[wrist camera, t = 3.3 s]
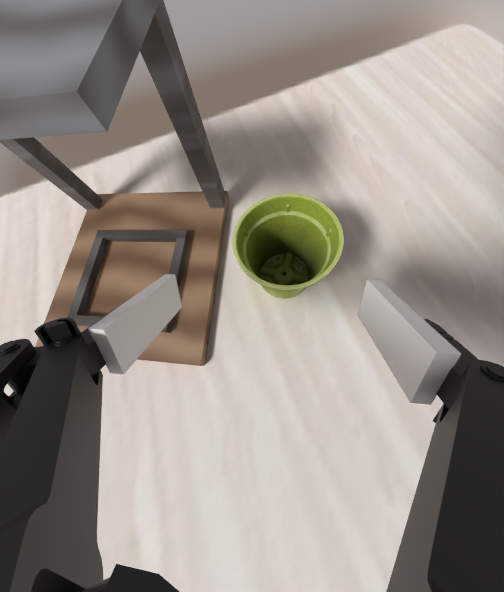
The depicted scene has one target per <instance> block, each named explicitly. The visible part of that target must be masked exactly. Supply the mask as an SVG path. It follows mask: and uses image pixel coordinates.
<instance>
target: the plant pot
mask: <svg viewBox="0 0 504 592" xmlns="http://www.w3.org/2000/svg"><path fill="white" fill-rule="evenodd" d="M343 245H344V234H343V229H342V226H341V224H340V222H339V220H338V218H337V216H336V215H335V214H334V212H333V211H332V210H331V209H329V208H328V207H327V206H326V205H325V204H323V203H322V202H320V201H318V200H316V199H314V198H312V197H309V196H305V195H301V194H293V193H291V194H280V195H275V196H270V197H268V198H265V199H263V200H261V201H260V202H257V203H256V204H254V205H253V206H252V207H250V208H249V209H248V210H247V211H246V212H245V213H244V214H243V215H242V217H241V218H240V220H239V222H238V224H237V226H236V228H235V231H234V235H233V251H234V254H235V257H236V260H237V262H238V263H239V265H240V267H241V268H242V269H243V271H244V272H245V273H246V274H247V275H248V276H249V277H251V278H252V279H253V280H254V281H256V282H258V283H259V284H261V285H262V286H263V288H264V289H265V290H266V291H267V292H268V293H269V294H271V295H273V296H275V297H279V298H291V297H294V296H296V295H298V294H299V293H301V292H302V291H303V290H304V289H305V288H306V287H309V286H311V285H313V284H315V283H317V282H319V281H320V280H322V279H323V278H324V277H326V276H327V275H328V274H329V273H330V272H331V271H332V269H333V268H334V267H335V266H336V264H337V262H338V261H339V259H340V256H341V254H342V250H343ZM276 258H279V260H278V261H276V262H274V263H272V264H270V262H271V261H273V260H274V259H276ZM296 262H298V263H300V264H301V265H302V267H303V270H301V269H300V267H299V266H298V264H297V263H296ZM284 272H285V273H286V276H283V275H282V273H284ZM265 280H268V282H266V281H265Z"/></svg>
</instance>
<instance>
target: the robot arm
mask: <svg viewBox="0 0 504 592" xmlns="http://www.w3.org/2000/svg"><path fill="white" fill-rule="evenodd" d="M181 308H182V304H181V299H180V295H179V290H178V286H177V281H176V276H175V274H165V275H163V276H162V277H161V278H159V279H158V280H156V281H155V282H153V283H152V284H151V285H149V286H148V287H146V288H145V289H144V290H142V291H141V292H139V293H138V294H136V295H135V296H134V297H132V298H131V299H129V300H128V301H127V302H125V303H124V304H122V305H121V306H119V307H118V308H116V309H114V310H112V311H111V312H110V313H108V314H107V315H105V316H104V317H102V318H101V320H98V321H97V322H95V323H94V324H92V325H91V326H90V327H88V328H87V329H85V330H84V331H82V332H80V330H79V328H78V326H77V324H76V323H75V321H74V319H73V318H60V319H56V320H53V321H50V322H47V323H45V324H43V325H41V326H40V327H38V328H37V329H36V330H35V333H36V334H37V336H38V337H39V339H40V340H41V342H42V344H43V345H44V346H40V347H33V345H32V344H31V342H30V341H29V340H28V339H19V340H15V341H10V342H7V343H4V344H2V345H1V346H0V592H179V591H178V590H177V589H176V588H174V587H173V586H172V585H171V584H170V583H169V582H167V581H166V580H165V579H164V578H163V577H162V576H160V575H159V574H156V573H152V572H148V571H144V570H140V569H135V568H131V567H127V566H123V565H118V564H116V566H115V568H114V570H113V573H112V575H111V577H110V578H108V579H105V580H103V566H102V559H101V556H100V552H99V549H98V544H97V513H98V487H99V460H100V434H101V407H102V381H103V375H102V372H101V370H100V369H101V368H102V367H103V366H104V365H105V364H106V366H107V368H108V370H109V372H110V373H116V374H124V373H125V372H126V371H127V370H128V369H129V368H130V367H131V365H132V364H133V363H134V362H135V361H136V360H137V358H138V357H139V356H140V355H141V354H142V353H143V352H144V350H145V349H146V348H147V347H148V346H149V345H150V344H151V342H152V341H153V340H154V339H155V338H156V337H157V335H158V334H159V333H160V332H161V331H162V330H163V329H164V327H165V326H166V325H167V324H168V323H169V322H170V320H171V319H172V318H173V317H174V316H175V315H176V314H177V312H178V311H179V310H180V309H181ZM358 317H359V318H360V320H361V322H362V323H363V325H364V327H365V328H366V330H367V332H368V333H369V335H370V337H371V338H372V340H373V342H374V343H375V345H376V347H377V348H378V350H379V351H380V353H381V355H382V356H383V358H384V360H385V361H386V363H387V365H388V366H389V368H390V370H391V371H392V373H393V375H394V376H395V378H396V380H397V381H398V383H399V385H400V386H401V388H402V389H403V391H404V393H405V394H406V396H407V398H408V399H409V401H410V403H420V404H430V405H431V404H432V402H433V400H434V399H435V397H436V395H438V396H439V398H440V399H441V400H442V402H443V403H444V404H443V406H442V407H441V409H440V410H439V412H438V413H437V415H436V416H435V418H434V419H433V422H435V423H436V425H435V428H434V432H433V435H432V439H431V442H430V445H429V449H428V452H427V456H426V459H425V462H424V466H423V469H422V473H421V476H420V480H419V483H418V486H417V490H416V493H415V497H414V500H413V503H412V507H411V510H410V514H409V517H408V520H407V524H406V527H405V531H404V534H403V538H402V541H401V544H400V548H399V551H398V555H397V558H396V561H395V565H394V568H393V572H392V575H391V578H390V582H389V585H388V589H387V592H504V367H503V366H500V365H498V364H495V363H492V362H488V361H483V360H478V359H477V358H476V357H475V356H474V355H473V354H471V353H470V352H469V351H468V350H467V349H466V348H465V347H463V346H462V345H461V344H460V343H459V342H458V341H456V340H454V338H453V337H452V336H451V335H449V334H447V332H446V331H445V330H444V329H442V328H441V327H440V326H439V325H437V324H435V323H433V322H431V321H430V320H428V319H423V318H421V317H420V316H419V315H418V314H417V313H416V312H415V311H414V310H413V309H412V308H410V307H409V306H408V305H407V304H406V303H405V302H404V301H403V300H402V299H401V298H399V297H398V296H397V295H396V294H395V293H394V292H393V291H392V290H391V289H390V288H388V287H387V286H386V285H385V284H384V283H383V282H382V281H381V280H374V279H367V281H366V285H365V289H364V293H363V297H362V301H361V305H360V308H359V312H358ZM6 384H8V385H9V386H10V387H11V388H12V389H13V391H14V392H13V393H12V394H11V395H10V396H7V395H6V394H5V393H4V388H5V386H6Z"/></svg>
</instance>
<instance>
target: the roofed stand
mask: <svg viewBox="0 0 504 592" xmlns="http://www.w3.org/2000/svg"><path fill="white" fill-rule="evenodd" d="M139 51H140V52H141V54H142V56H143V59H144V61H145V63H146V65H147V68H148V70H149V72H150V74H151V76H152V78H153V81H154V83H155V86H156V88H157V90H158V92H159V94H160V97H161V99H162V101H163V103H164V106H165V108H166V110H167V112H168V114H169V117H170V119H171V121H172V124H173V126H174V128H175V130H176V132H177V135H178V137H179V139H180V141H181V144H182V146H183V148H184V150H185V153H186V155H187V157H188V159H189V161H190V164H191V166H192V168H193V170H194V173H195V175H196V177H197V179H198V182H199V184H200V186H201V188H202V191H203V192H171V193H132V194H96V193H95V192H94V191H93V190H92V189H90V188H89V187H88V186H87V185H86V184H85V183H84V182H83V181H82V180H80V179H79V178H78V177H77V176H76V175H75V174H74V173H73V172H72V171H71V170H69V169H68V168H67V167H66V166H65V165H64V164H63V163H62V162H60V161H59V160H58V159H57V158H56V157H55V156H54V155H53V154H52V153H51V152H50V151H48V150H47V149H46V148H45V147H44V146H43V145H42V144H41V143H40V142H38V141H37V140H36V139H35V138H34V137H45V136H58V135H72V134H85V133H97V132H98V133H99V132H107V131H108V128H109V126H110V123H111V121H112V118H113V116H114V113H115V111H116V108H117V106H118V103H119V101H120V98H121V96H122V93H123V91H124V88H125V86H126V83H127V81H128V78H129V76H130V73H131V71H132V69H133V66H134V63H135V60H136V58H137V56H138V53H139ZM0 143H1V144H3V145H4V146H5V147H7V148H8V149H9V150H10V151H12V152H13V153H14V154H16V155H17V156H18V157H19V158H21V159H22V160H23V161H25V162H26V163H27V164H29V165H30V166H31V167H32V168H34V169H35V170H36V171H38V172H39V173H40V174H41V175H43V176H44V177H45V178H46V179H48V180H49V181H50V182H52V183H53V184H54V185H56V186H57V187H58V188H59V189H61V190H62V191H63V192H65V193H66V194H67V195H68V196H70V197H71V198H72V199H74V200H75V201H76V202H77V203H79V204H80V205H81V206H83V207H84V208H85V209H86V210H87V212H86V215H85V217H84V220H83V223H82V225H81V228H80V231H79V233H78V236H77V238H76V241H75V244H74V246H73V249H72V251H71V254H70V257H69V259H68V262H67V265H66V267H65V270H64V272H63V275H62V278H61V280H60V283H59V286H58V288H57V291H56V293H55V296H54V299H53V301H52V304H51V306H50V309H49V312H48V314H47V317H46V320H45V322H44V324H45V323H47V322H50V321H53V320H56V319H60V318H73V319H74V321H75V323H76V324H77V326H78V328H79V330H80V332H82V331H84V330H85V329H87V328H88V327H90V326H91V325H92V324H94V323H95V322H97V321H98V320H101V318H102V317H104V316H105V315H107V314H108V313H110V312H111V311H112V310H114V309H116V308H118V307H119V306H121V305H122V304H124V303H125V302H127V301H128V300H129V299H131V298H132V297H134V296H135V295H136V294H138V293H139V292H141V291H142V290H144V289H145V288H146V287H148V286H149V285H151V284H152V283H153V282H155V281H156V280H158V279H159V278H161V277H162V276H163V275H165V274H175V276H176V281H177V286H178V290H179V295H180V299H181V304H182V308H181V309H180V310H179V311H178V312H177V314H176V315H175V316H174V317H173V318H172V319H171V320H170V322H169V323H168V324H167V325H166V326H165V327H164V329H163V330H162V331H161V332H160V333H159V334H158V335H157V337H156V338H155V339H154V340H153V341H152V342H151V344H150V345H149V346H148V347H147V348H146V349H145V350H144V352H143V353H142V354H141V355H140V356H139V357H138V358H137V359H139V360H149V361H159V362H169V363H179V364H188V365H198V366H202V365H204V363H205V357H206V350H207V343H208V336H209V329H210V322H211V315H212V308H213V302H214V295H215V288H216V281H217V274H218V267H219V260H220V253H221V247H222V240H223V233H224V226H225V219H226V212H227V205H228V199H229V197H228V193H227V191H224V189H223V186H222V183H221V180H220V177H219V173H218V170H217V167H216V164H215V161H214V158H213V155H212V151H211V148H210V145H209V142H208V139H207V136H206V133H205V129H204V126H203V123H202V120H201V117H200V114H199V111H198V108H197V104H196V102H195V98H194V95H193V92H192V89H191V86H190V83H189V79H188V76H187V73H186V70H185V67H184V64H183V61H182V57H181V54H180V51H179V48H178V45H177V42H176V39H175V35H174V32H173V29H172V26H171V23H170V20H169V17H168V13H167V11H166V7H165V4H164V1H163V0H0ZM40 346H44V345H43V344H42V342H41V340H40V339H39V338H38V341H37V343H36V346H35V347H40Z"/></svg>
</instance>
